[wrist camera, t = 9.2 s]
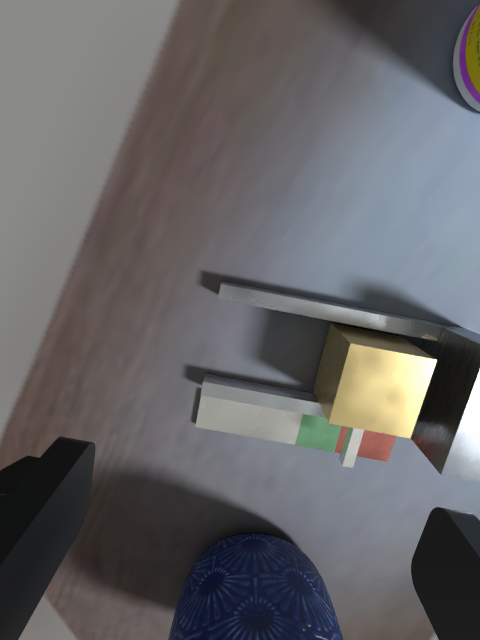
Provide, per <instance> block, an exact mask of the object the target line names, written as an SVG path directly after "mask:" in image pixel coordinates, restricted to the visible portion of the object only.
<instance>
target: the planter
mask: <svg viewBox="0 0 480 640" xmlns="http://www.w3.org/2000/svg"><path fill="white" fill-rule="evenodd" d="M168 640H343V637H342V634H341V631H340V627H339V624H338V621H337V617H336V614H335V611H334V608H333V605H332V602H331V599H330V597H329V594H328V592H327V589H326V586H325V584H324V582H323V580H322V577H321V576H320V574H319V572H318V570H317V568H316V567H315V565H314V564H313V563H312V561H311V560H310V559H309V558H308V557H307V556H306V555H305V554H304V553H303V552H302V551H301V550H300V549H298V548H297V547H295V546H294V545H292V544H291V543H289V542H287V541H285V540H283V539H280V538H277V537H274V536H270V535H264V534H243V535H237V536H233V537H230V538H227V539H225V540H222V541H220V542H218V543H216V544H215V545H213V546H212V547H210V548H209V549H208V550H207V551H205V552H204V553H203V554H202V555H201V556H200V557H199V558H198V560H197V561H196V562H195V564H194V565H193V567H192V568H191V570H190V572H189V574H188V576H187V578H186V580H185V583H184V585H183V588H182V591H181V594H180V597H179V601H178V604H177V607H176V611H175V614H174V618H173V622H172V626H171V630H170V635H169V639H168Z"/></svg>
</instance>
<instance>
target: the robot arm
mask: <svg viewBox="0 0 480 640" xmlns="http://www.w3.org/2000/svg"><path fill="white" fill-rule="evenodd" d="M94 457H95V444H94V443H93V442H87V441H82V440H76V439H71V438H65V437H59V438H58V439H56V440H55V441H54V443H53V444H52V445H51V446H50V447H49V448H48V449H47V450H46V451H45V452H44V454H43V455H42V456H41V457H40V458H37V457H32V456H26V457H24V458H22V459H20V460H19V461H17V462H15V463H13V464H11V465H9V466H7V467H6V468H4V469H2V470H1V471H0V640H18V639H19V637H20V635H21V634H22V632H23V630H24V628H25V626H26V625H27V623H28V621H29V619H30V617H31V615H32V614H33V612H34V610H35V608H36V607H37V605H38V603H39V601H40V599H41V598H42V596H43V594H44V592H45V590H46V589H47V587H48V585H49V583H50V582H51V580H52V578H53V576H54V574H55V573H56V571H57V569H58V567H59V565H60V564H61V562H62V560H63V558H64V556H65V555H66V553H67V551H68V549H69V547H70V546H71V544H72V542H73V540H74V538H75V537H76V535H77V533H78V531H79V529H80V527H81V525H82V523H83V520H84V518H85V515H86V512H87V508H88V504H89V499H90V492H91V483H92V474H93V466H94ZM411 573H412V580H413V585H414V588H415V590H416V593H417V595H418V597H419V599H420V601H421V603H422V605H423V607H424V609H425V611H426V614H427V616H428V618H429V620H430V622H431V624H432V626H433V628H434V630H435V632H436V635H437V637H438V639H439V640H480V521H479V519H478V518H477V517H476V516H474V515H473V514H471V513H467V512H462V511H457V510H451V509H446V508H440V507H436V508H434V509H433V510H432V511H431V513H430V515H429V517H428V520H427V522H426V525H425V527H424V530H423V532H422V535H421V538H420V540H419V543H418V545H417V548H416V550H415V553H414V555H413V558H412V564H411Z"/></svg>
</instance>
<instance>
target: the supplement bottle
mask: <svg viewBox="0 0 480 640" xmlns="http://www.w3.org/2000/svg"><path fill="white" fill-rule="evenodd" d="M453 72H454V78H455V81H456V84H457V87H458V89H459V92H460V93H461V95H462V97H463V98H464V99H465V101H466V102H467V103H468V104H469V105H470V106H471V107H473V108H474V109H476V110H477V111H479V112H480V3H479V5H478V6H477V7H476V8H475V9H474V10H473V11H472V13H471V14H470V15H469V17H468V18H467V20H466V21H465V23H464V25H463V27H462V29H461V31H460V33H459V36H458V38H457V41H456V45H455V50H454V55H453Z"/></svg>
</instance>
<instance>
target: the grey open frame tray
mask: <svg viewBox="0 0 480 640" xmlns="http://www.w3.org/2000/svg"><path fill="white" fill-rule="evenodd" d="M218 299H221V300H226V301H231V302H236V303H241V304H246V305H252V306H257V307H262V308H267V309H272V310H278V311H283V312H288V313H293V314H298V315H303V316H309V317H314V318H319V319H324V320H329V321H335V322H340V323H345V324H350V325H355V326H361V327H366V328H371V329H376V330H381V331H386V332H392V333H397V334H402V335H407V336H412V337H418V338H423V339H424V342H423V345H422V348H421V350H422V351H424V352H425V353H427V354H429V355H430V356H432V357H433V358H435V359H436V360H437V362H436V365H435V368H434V371H433V373H432V376H431V379H430V382H429V385H428V388H427V391H426V394H425V397H424V400H423V403H422V406H421V409H420V412H419V415H418V418H417V421H416V424H415V427H414V429H413V432H412V435H411V439H412V440H413V442H414V443H415V444H416V445H417V446H418V448H419V449H420V450H421V451H422V452H423V454H424V455H425V456H426V457H427V458H428V460H429V461H430V462H431V463H432V464H433V466H434V467H435V468H436V469H437V471H438V472H439V473H440V474H441V475H445V476H451V477H456V478H462V479H467V480H473V481H478V482H480V335H479V334H477V333H475V332H472V331H470V330H467V329H465V328H461V327H456V326H451V325H446V324H441V323H436V322H431V321H425V320H420V319H415V318H410V317H405V316H400V315H395V314H390V313H384V312H379V311H374V310H369V309H364V308H359V307H354V306H348V305H343V304H338V303H333V302H328V301H323V300H318V299H312V298H307V297H302V296H297V295H292V294H287V293H282V292H277V291H271V290H266V289H261V288H256V287H251V286H246V285H241V284H235V283H230V282H225V281H222V283H221V286H220V291H219V297H218ZM195 427H199V428H204V429H210V430H215V431H221V432H226V433H232V434H238V435H243V436H249V437H254V438H260V439H265V440H271V441H276V442H282V443H287V444H293V445H299V446H304V447H310V448H315V449H321V450H326V451H332V452H337V453H341V451H342V447H343V444H344V440H345V437H346V434H347V430H348V427H346V426H340V425H335V424H329V423H328V421H327V419H326V417H325V415H324V412H323V410H322V408H321V406H320V404H319V401H318V399H317V397H316V395H315V394H313V393H308V392H302V391H297V390H292V389H286V388H281V387H276V386H270V385H265V384H259V383H254V382H249V381H243V380H238V379H232V378H227V377H222V376H216V375H211V374H206V373H205V377H204V380H203V385H202V390H201V399H200V404H199V410H198V415H197V421H196V426H195ZM395 437H396V436H395V435H390V434H384V433H379V432H373V431H368V430H364V433H363V436H362V439H361V443H360V446H359V449H358V453H357V456H359V457H365V458H371V459H376V460H382V461H387V462H388V459H389V456H390V453H391V450H392V447H393V444H394V440H395Z"/></svg>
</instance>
